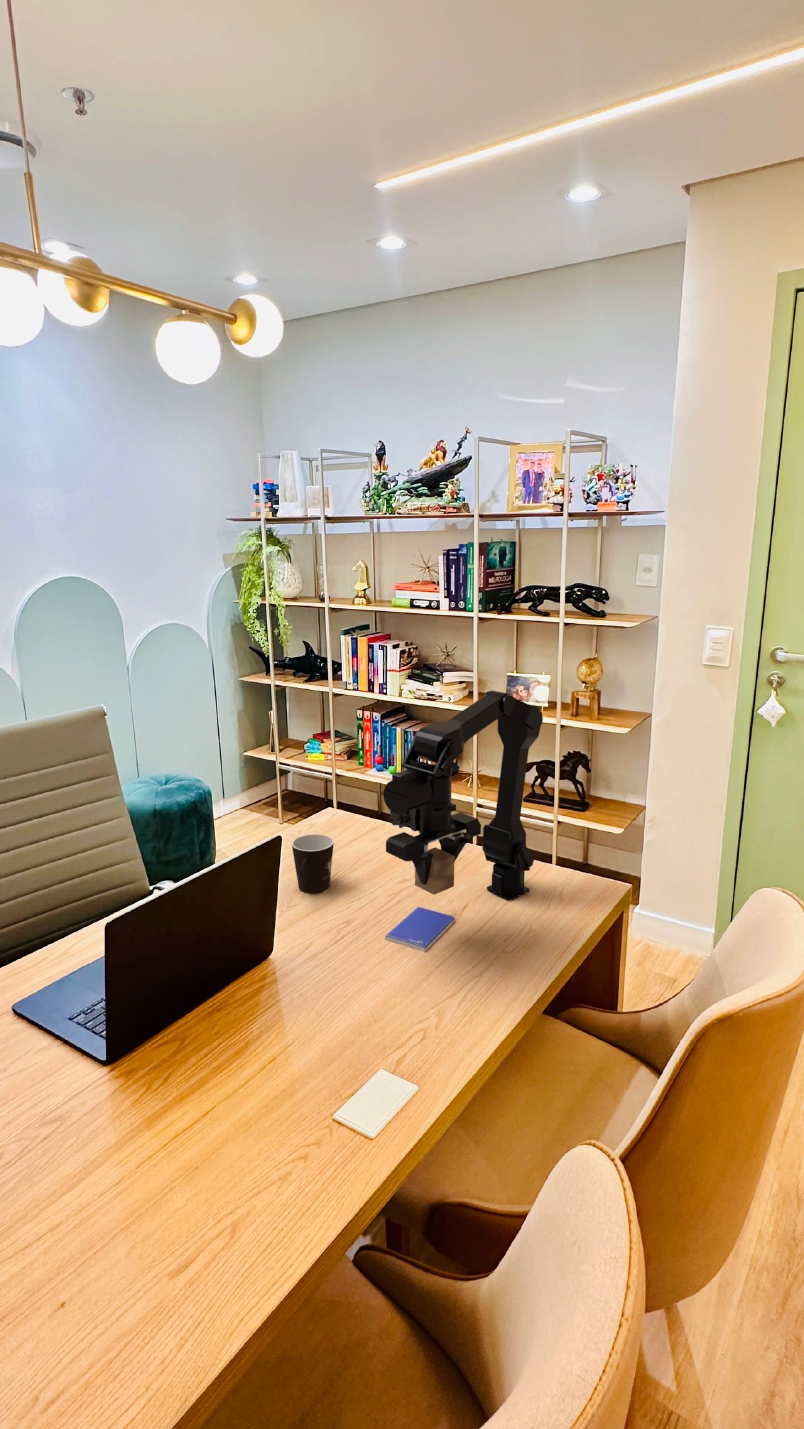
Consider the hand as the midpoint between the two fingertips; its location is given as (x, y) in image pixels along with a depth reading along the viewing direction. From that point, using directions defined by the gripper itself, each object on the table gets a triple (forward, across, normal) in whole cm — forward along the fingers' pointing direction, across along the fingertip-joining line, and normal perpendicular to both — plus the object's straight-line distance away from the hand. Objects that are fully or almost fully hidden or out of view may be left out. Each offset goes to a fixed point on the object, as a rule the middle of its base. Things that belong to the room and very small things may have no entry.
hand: (434, 879), depth 141 cm
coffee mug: (+11, +7, -30) cm, 33 cm away
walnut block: (+1, 0, 0) cm, 1 cm away
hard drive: (+12, +1, -3) cm, 12 cm away
